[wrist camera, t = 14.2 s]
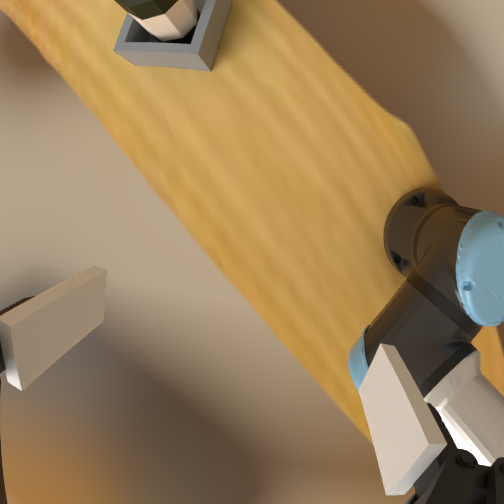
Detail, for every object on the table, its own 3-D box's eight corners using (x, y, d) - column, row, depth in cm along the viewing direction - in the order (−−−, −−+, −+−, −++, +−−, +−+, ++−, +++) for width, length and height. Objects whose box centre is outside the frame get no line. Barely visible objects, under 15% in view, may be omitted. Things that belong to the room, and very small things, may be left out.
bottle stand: (210, 71, 45) (197, 54, 37) (135, 65, 45) (113, 51, 38) (232, 3, 41) (223, -21, 34) (158, 0, 42) (141, -20, 34)
